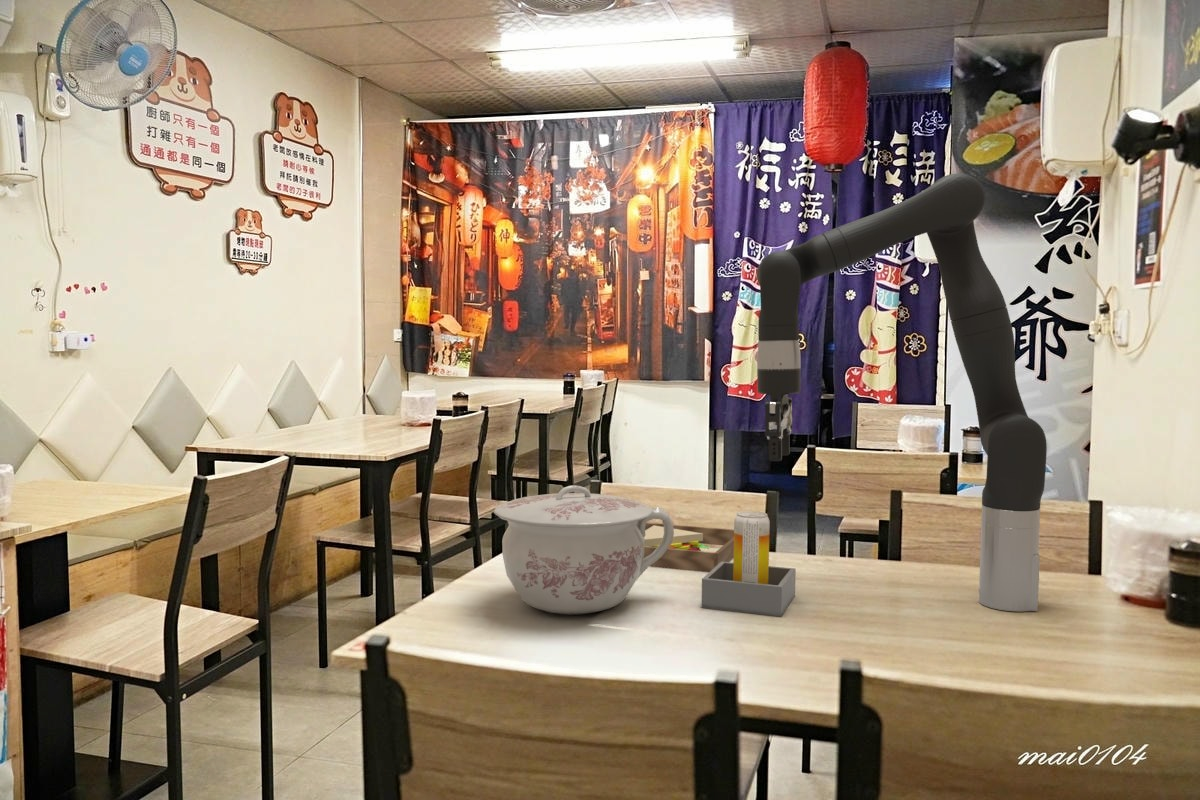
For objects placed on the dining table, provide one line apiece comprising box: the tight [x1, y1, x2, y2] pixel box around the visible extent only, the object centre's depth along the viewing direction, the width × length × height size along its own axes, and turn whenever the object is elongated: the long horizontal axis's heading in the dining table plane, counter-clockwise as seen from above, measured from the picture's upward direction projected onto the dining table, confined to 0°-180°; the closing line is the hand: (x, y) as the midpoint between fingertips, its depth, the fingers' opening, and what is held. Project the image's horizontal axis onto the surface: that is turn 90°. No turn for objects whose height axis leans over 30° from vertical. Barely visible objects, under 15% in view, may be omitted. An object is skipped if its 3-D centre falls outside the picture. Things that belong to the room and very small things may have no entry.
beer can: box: [732, 510, 771, 584], centre depth 161 cm, size 6×6×15 cm
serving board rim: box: [643, 522, 734, 573], centre depth 197 cm, size 24×24×4 cm
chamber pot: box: [493, 484, 674, 616], centre depth 159 cm, size 28×28×21 cm
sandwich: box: [644, 525, 710, 551], centre depth 197 cm, size 15×20×5 cm
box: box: [701, 561, 797, 618], centre depth 162 cm, size 14×14×5 cm
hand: (779, 458), depth 164 cm, fingers open, 8 cm apart
